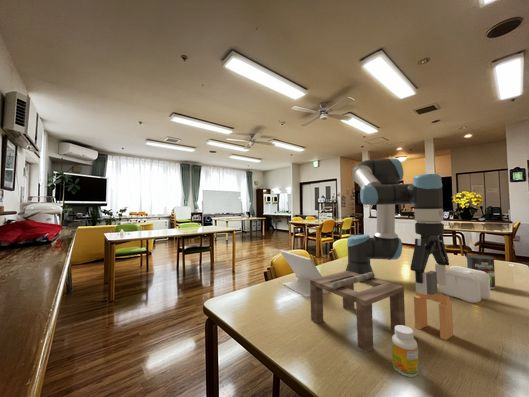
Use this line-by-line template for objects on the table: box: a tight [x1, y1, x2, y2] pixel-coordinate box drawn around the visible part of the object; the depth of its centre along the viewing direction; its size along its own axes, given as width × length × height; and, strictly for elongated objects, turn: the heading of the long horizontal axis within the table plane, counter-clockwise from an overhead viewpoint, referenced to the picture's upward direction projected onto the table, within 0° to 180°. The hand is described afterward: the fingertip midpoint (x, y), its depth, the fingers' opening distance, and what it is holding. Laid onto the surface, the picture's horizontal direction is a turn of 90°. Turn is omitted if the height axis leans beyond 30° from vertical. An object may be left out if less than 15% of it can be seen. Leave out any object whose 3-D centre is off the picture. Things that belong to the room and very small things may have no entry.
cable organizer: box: [438, 265, 492, 304], centre depth 98 cm, size 15×11×12 cm
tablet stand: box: [280, 250, 330, 299], centre depth 116 cm, size 18×25×17 cm
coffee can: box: [465, 253, 497, 290], centre depth 112 cm, size 10×10×14 cm
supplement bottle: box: [391, 325, 419, 378], centre depth 56 cm, size 5×5×10 cm
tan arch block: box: [413, 270, 454, 341], centre depth 73 cm, size 8×5×18 cm, turn 32°
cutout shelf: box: [310, 270, 406, 353], centre depth 77 cm, size 22×20×16 cm
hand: (431, 288), depth 73 cm, fingers open, 13 cm apart
